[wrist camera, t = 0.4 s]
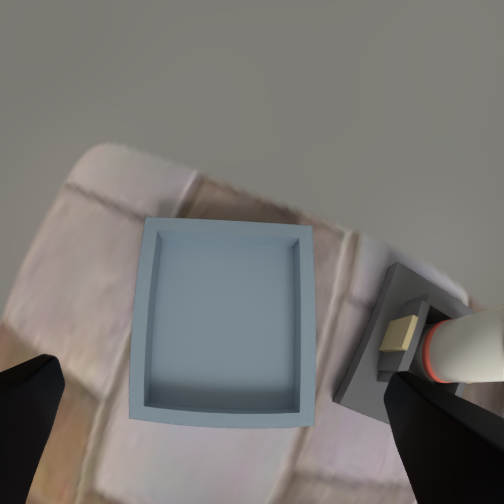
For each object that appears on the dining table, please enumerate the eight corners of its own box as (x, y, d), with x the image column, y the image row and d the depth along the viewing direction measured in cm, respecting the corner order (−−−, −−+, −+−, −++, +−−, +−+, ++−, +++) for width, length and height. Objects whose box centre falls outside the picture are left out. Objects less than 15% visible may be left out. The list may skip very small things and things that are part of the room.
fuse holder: (423, 436, 20) (457, 445, 15) (332, 401, 20) (358, 410, 16) (465, 315, 23) (499, 305, 19) (388, 267, 24) (418, 248, 20)
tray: (304, 418, 20) (314, 425, 17) (138, 412, 19) (129, 418, 16) (303, 238, 24) (312, 225, 22) (152, 230, 23) (145, 216, 21)
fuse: (430, 390, 20) (549, 389, 8) (389, 371, 20) (514, 365, 9) (447, 338, 21) (562, 310, 10) (409, 317, 21) (528, 275, 10)
